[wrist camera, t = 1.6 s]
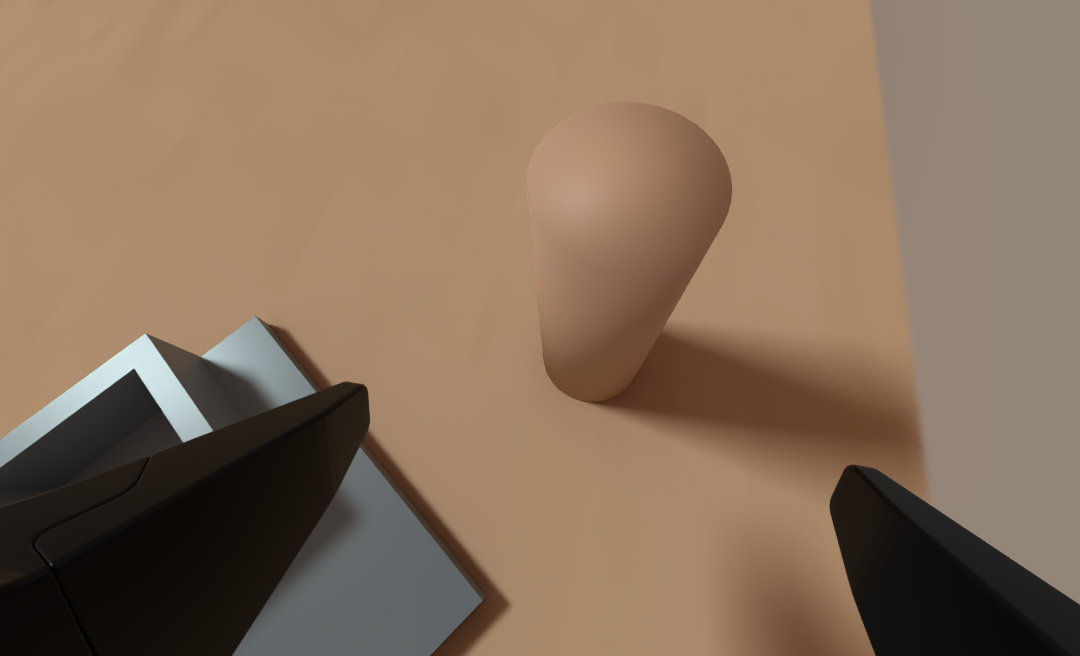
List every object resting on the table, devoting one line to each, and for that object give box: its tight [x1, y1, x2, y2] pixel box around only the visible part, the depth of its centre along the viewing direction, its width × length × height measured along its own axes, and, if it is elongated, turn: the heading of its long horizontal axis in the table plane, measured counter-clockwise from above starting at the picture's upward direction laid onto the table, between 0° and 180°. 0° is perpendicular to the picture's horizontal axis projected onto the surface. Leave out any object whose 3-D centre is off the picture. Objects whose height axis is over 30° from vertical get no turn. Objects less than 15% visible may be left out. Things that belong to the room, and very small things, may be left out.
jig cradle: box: [0, 316, 486, 656], centre depth 18 cm, size 16×14×4 cm
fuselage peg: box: [527, 102, 732, 402], centre depth 16 cm, size 4×4×12 cm
